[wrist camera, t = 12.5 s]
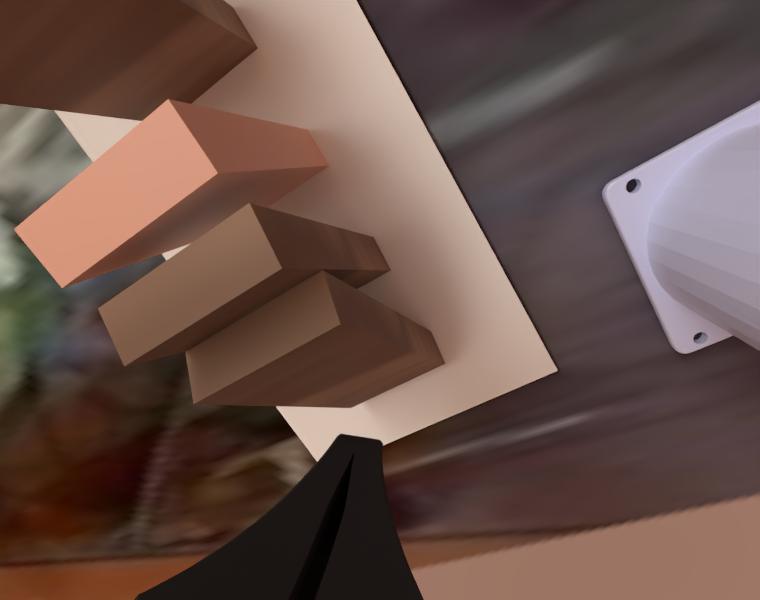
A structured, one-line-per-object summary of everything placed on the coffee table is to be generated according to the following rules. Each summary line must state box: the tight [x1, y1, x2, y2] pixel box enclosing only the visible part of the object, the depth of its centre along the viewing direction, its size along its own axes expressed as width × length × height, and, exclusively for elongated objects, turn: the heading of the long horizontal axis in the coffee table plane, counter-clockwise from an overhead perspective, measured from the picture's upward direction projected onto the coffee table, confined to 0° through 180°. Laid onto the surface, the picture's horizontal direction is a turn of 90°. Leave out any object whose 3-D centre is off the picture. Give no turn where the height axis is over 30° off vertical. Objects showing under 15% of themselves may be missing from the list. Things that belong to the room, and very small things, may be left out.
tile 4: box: [0, 0, 258, 121], centre depth 12 cm, size 2×5×9 cm, turn 122°
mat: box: [54, 0, 558, 462], centre depth 18 cm, size 13×25×1 cm, turn 32°
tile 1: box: [186, 270, 445, 408], centre depth 15 cm, size 2×5×9 cm
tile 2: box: [98, 203, 391, 366], centre depth 14 cm, size 2×5×9 cm, turn 121°
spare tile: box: [14, 99, 329, 288], centre depth 13 cm, size 2×5×9 cm, turn 121°
